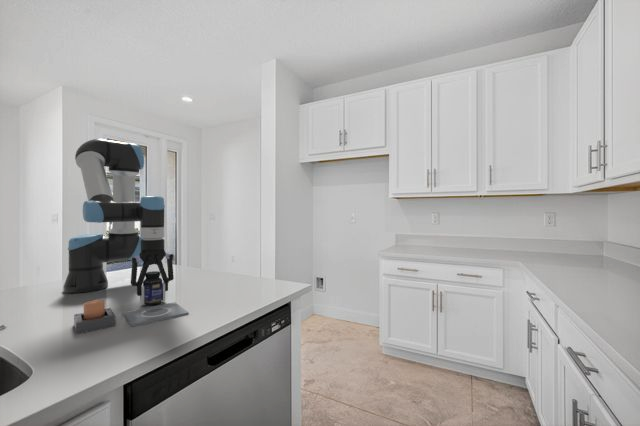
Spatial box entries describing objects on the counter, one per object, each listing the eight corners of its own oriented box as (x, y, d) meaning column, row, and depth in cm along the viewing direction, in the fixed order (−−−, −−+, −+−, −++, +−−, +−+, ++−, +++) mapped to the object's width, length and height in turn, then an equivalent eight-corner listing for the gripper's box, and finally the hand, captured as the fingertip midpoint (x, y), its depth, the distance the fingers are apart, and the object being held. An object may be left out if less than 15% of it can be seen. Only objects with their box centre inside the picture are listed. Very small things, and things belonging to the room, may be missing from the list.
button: (83, 318, 89) (82, 302, 89) (103, 314, 92) (103, 298, 92) (84, 323, 85) (84, 306, 85) (105, 319, 89) (105, 302, 89)
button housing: (74, 324, 89) (73, 314, 89) (110, 317, 95) (110, 307, 95) (76, 334, 82) (76, 323, 82) (115, 325, 89) (115, 315, 88)
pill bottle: (153, 306, 105) (153, 275, 105) (138, 304, 106) (138, 273, 106) (166, 300, 111) (165, 271, 111) (151, 299, 112) (151, 270, 112)
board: (123, 314, 98) (123, 312, 98) (175, 303, 109) (175, 301, 109) (132, 326, 88) (132, 324, 88) (188, 313, 98) (188, 311, 98)
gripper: (123, 241, 99) (123, 310, 99) (183, 237, 112) (183, 299, 112) (119, 239, 104) (119, 305, 105) (177, 236, 117) (177, 294, 118)
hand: (152, 301), depth 109 cm, fingers closed on pill bottle, 6 cm apart
